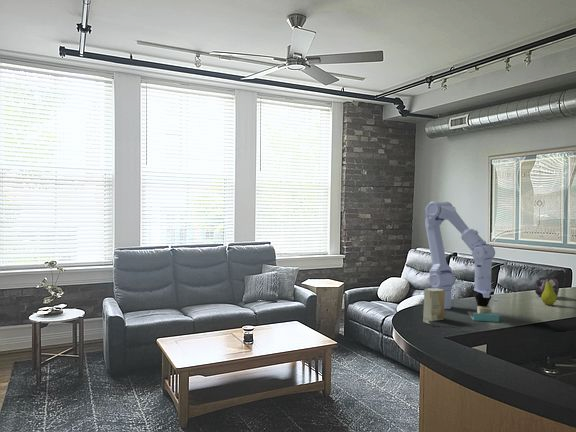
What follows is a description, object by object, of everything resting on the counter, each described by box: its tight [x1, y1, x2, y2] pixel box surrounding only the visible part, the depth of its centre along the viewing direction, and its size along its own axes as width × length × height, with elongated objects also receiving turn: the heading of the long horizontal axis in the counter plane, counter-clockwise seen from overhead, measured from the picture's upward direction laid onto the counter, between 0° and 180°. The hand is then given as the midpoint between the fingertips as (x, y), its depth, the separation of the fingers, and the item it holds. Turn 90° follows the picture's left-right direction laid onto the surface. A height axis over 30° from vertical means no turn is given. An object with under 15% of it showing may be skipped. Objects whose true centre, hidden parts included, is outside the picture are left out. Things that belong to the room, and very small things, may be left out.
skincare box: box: [422, 288, 445, 325], centre depth 167 cm, size 6×4×12 cm
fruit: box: [540, 276, 558, 306], centre depth 200 cm, size 6×6×12 cm
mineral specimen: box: [534, 276, 560, 297], centre depth 218 cm, size 10×10×10 cm
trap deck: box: [466, 311, 500, 323], centre depth 171 cm, size 14×8×4 cm, turn 168°
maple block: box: [476, 306, 492, 314], centre depth 169 cm, size 4×4×4 cm
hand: (481, 313), depth 172 cm, fingers closed
